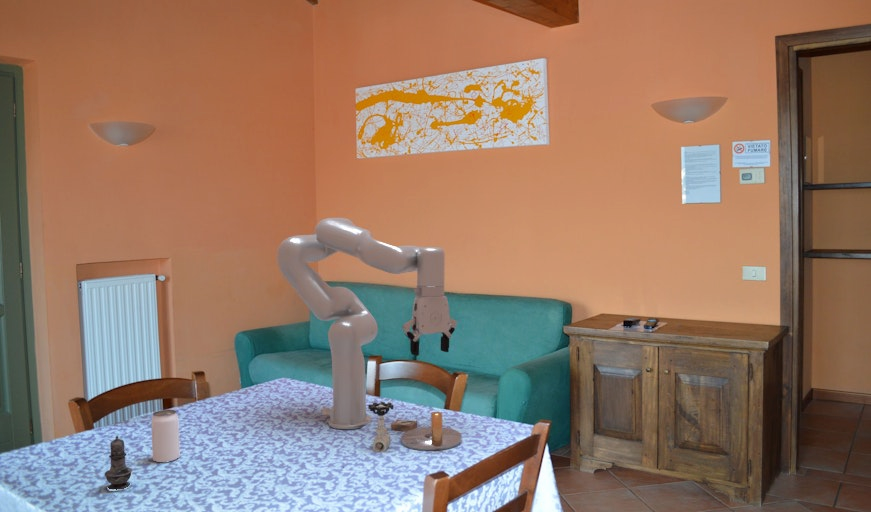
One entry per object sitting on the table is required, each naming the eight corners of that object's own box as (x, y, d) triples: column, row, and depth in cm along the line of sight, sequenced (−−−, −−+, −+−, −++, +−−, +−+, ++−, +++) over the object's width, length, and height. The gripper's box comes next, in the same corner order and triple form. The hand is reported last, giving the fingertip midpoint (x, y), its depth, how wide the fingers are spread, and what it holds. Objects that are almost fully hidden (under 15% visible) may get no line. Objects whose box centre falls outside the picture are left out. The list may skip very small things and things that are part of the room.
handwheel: (392, 448, 185) (391, 412, 185) (412, 430, 201) (412, 397, 200) (452, 453, 181) (451, 416, 180) (468, 434, 196) (467, 400, 195)
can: (185, 456, 185) (183, 410, 184) (168, 464, 178) (166, 416, 178) (164, 453, 187) (162, 408, 186) (147, 461, 181) (145, 415, 180)
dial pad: (391, 432, 201) (390, 423, 201) (397, 427, 206) (397, 418, 206) (411, 434, 199) (411, 425, 199) (417, 429, 204) (416, 420, 204)
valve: (396, 446, 189) (395, 401, 189) (392, 455, 183) (391, 408, 182) (371, 446, 190) (370, 401, 189) (366, 454, 183) (365, 408, 183)
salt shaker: (110, 482, 167) (108, 432, 166) (136, 481, 167) (134, 431, 166) (100, 492, 161) (98, 440, 160) (128, 491, 161) (125, 438, 160)
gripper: (410, 295, 190) (409, 358, 191) (464, 291, 199) (463, 352, 200) (396, 292, 196) (396, 353, 197) (449, 288, 205) (448, 347, 207)
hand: (429, 353), depth 199 cm, fingers open, 9 cm apart
